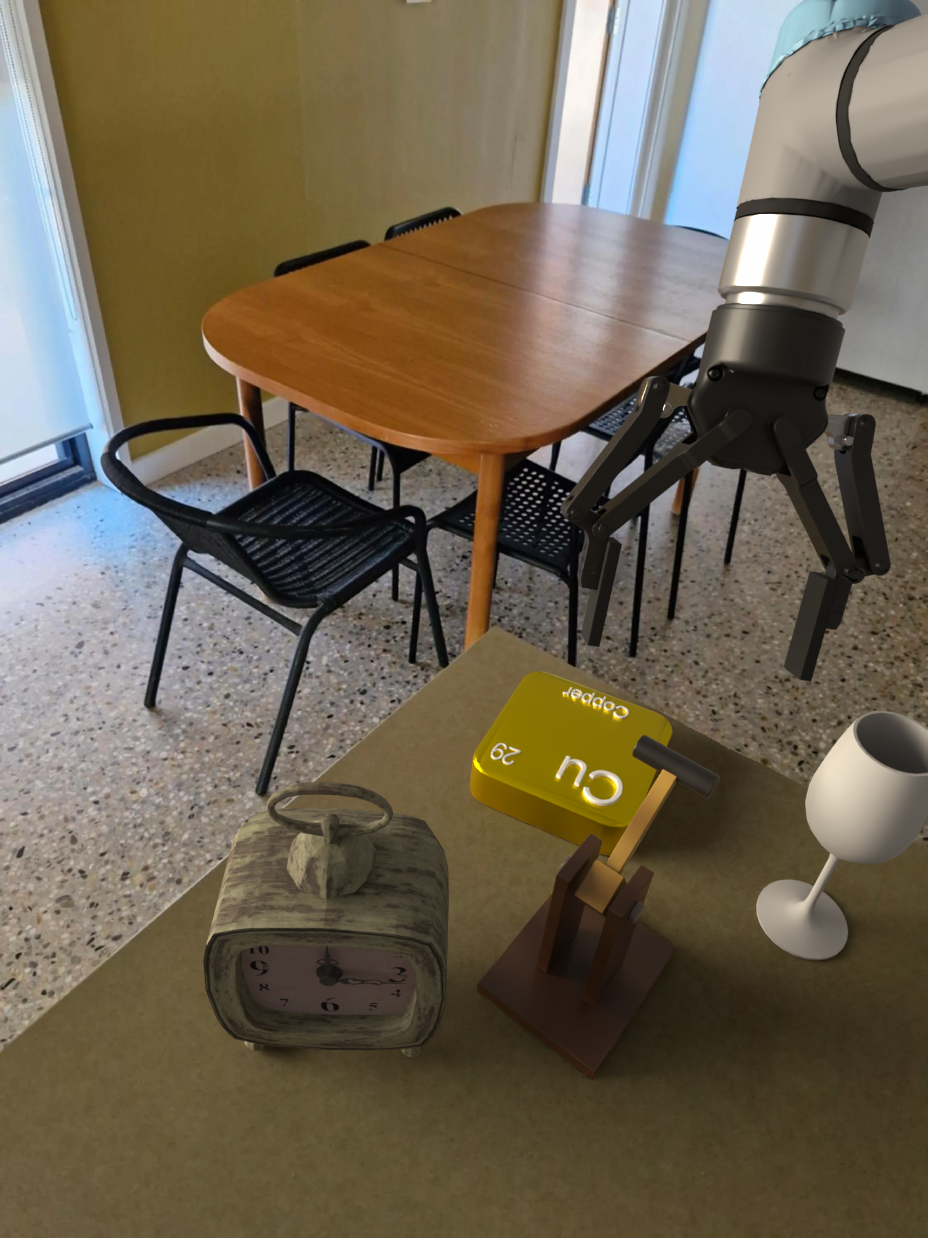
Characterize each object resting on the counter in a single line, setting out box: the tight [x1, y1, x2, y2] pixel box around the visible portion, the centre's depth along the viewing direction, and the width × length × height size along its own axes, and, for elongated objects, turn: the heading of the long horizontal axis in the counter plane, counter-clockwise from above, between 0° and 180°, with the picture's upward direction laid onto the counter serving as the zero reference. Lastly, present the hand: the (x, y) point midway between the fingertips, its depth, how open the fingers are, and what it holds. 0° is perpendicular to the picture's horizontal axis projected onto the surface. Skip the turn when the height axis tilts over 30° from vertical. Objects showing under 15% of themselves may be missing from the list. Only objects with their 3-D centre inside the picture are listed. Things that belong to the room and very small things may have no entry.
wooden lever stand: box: [476, 834, 676, 1080], centre depth 63 cm, size 12×10×13 cm
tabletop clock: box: [203, 781, 450, 1058], centre depth 56 cm, size 14×9×25 cm, turn 90°
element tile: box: [469, 670, 673, 857], centre depth 81 cm, size 15×15×5 cm
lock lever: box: [575, 735, 721, 918], centre depth 61 cm, size 12×6×2 cm, turn 143°
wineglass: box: [755, 710, 928, 961], centre depth 65 cm, size 8×8×21 cm
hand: (694, 658), depth 56 cm, fingers open, 13 cm apart
